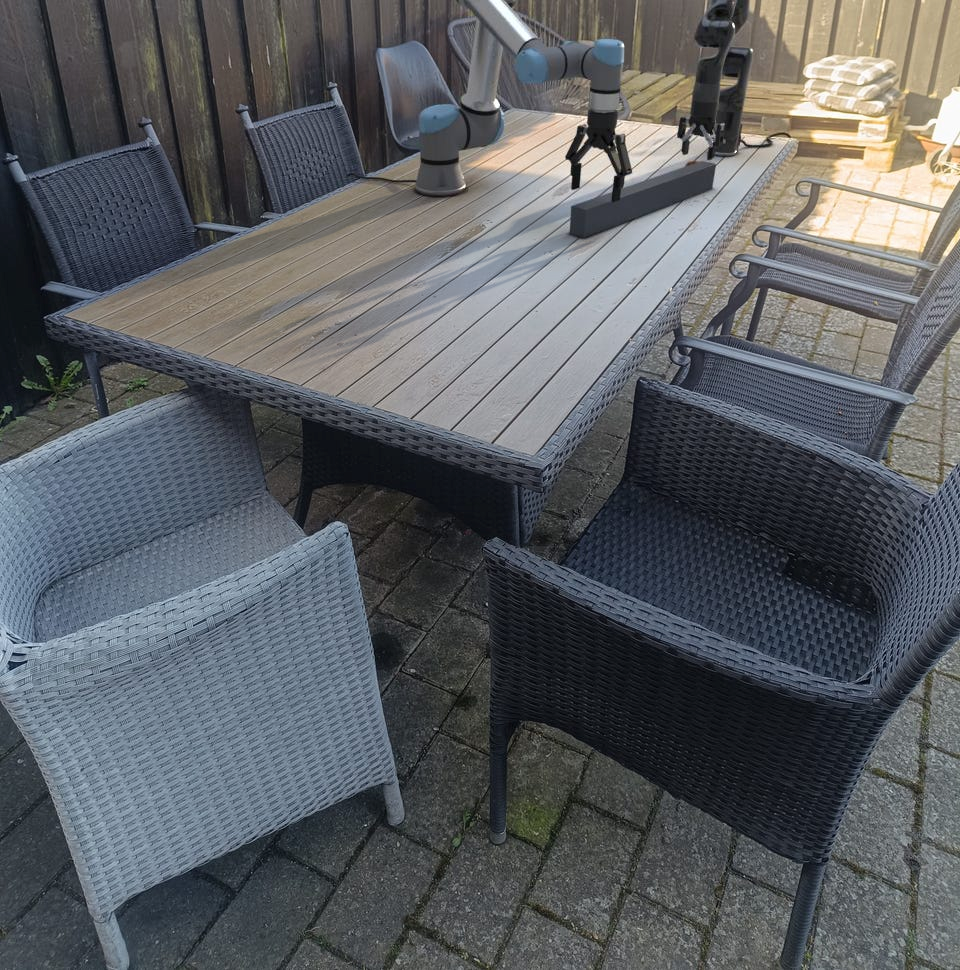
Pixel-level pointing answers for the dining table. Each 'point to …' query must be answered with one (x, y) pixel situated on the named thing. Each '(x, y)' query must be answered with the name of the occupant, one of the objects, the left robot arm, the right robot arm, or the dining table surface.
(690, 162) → the red lumpy piece
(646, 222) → the dining table surface
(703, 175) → the beam
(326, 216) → the dining table surface
